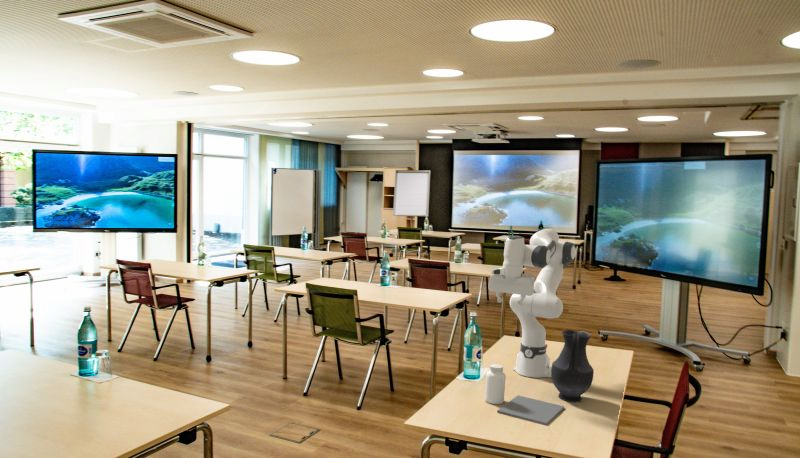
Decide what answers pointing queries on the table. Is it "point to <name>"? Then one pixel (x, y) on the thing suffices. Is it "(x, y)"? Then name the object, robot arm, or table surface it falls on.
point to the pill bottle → (495, 384)
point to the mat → (531, 409)
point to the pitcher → (572, 367)
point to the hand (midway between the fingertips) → (509, 303)
